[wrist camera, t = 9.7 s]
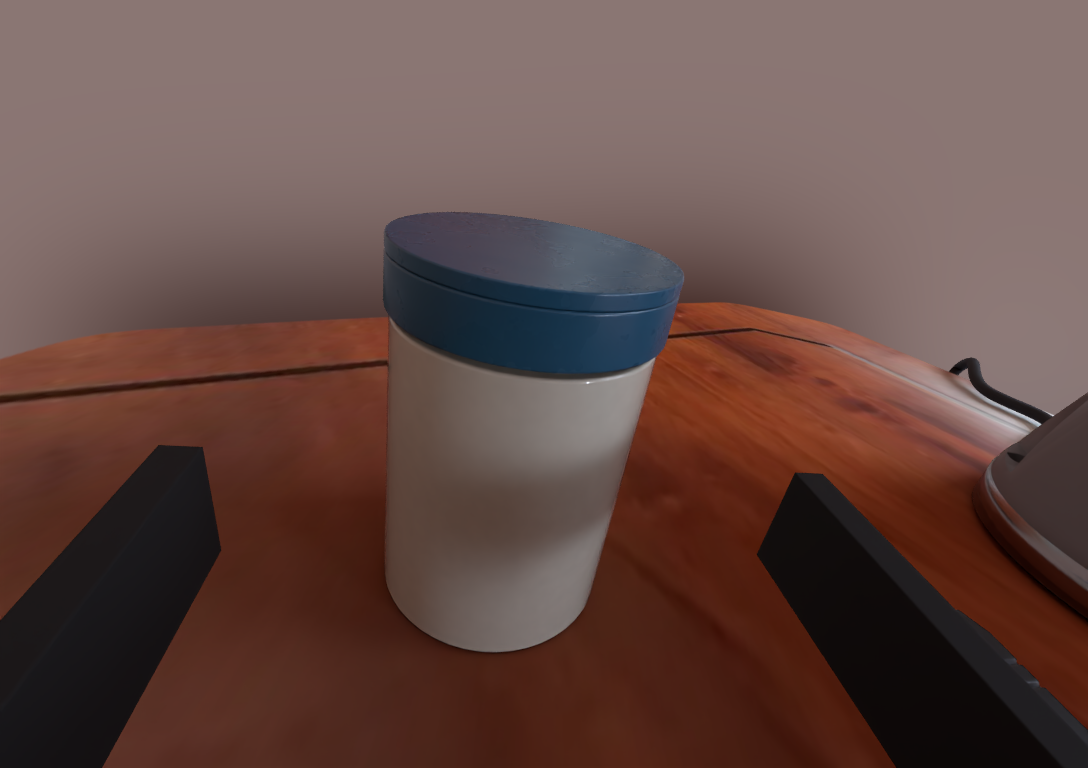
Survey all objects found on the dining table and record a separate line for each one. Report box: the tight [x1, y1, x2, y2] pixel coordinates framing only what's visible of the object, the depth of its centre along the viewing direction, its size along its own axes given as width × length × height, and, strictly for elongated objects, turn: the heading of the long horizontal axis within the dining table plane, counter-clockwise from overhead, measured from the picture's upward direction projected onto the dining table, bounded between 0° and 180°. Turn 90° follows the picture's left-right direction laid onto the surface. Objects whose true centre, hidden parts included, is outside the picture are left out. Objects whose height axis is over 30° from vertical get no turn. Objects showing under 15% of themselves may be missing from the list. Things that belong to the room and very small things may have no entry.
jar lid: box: [383, 212, 684, 374], centre depth 13 cm, size 8×8×2 cm
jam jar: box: [384, 317, 657, 652], centre depth 16 cm, size 7×7×10 cm
